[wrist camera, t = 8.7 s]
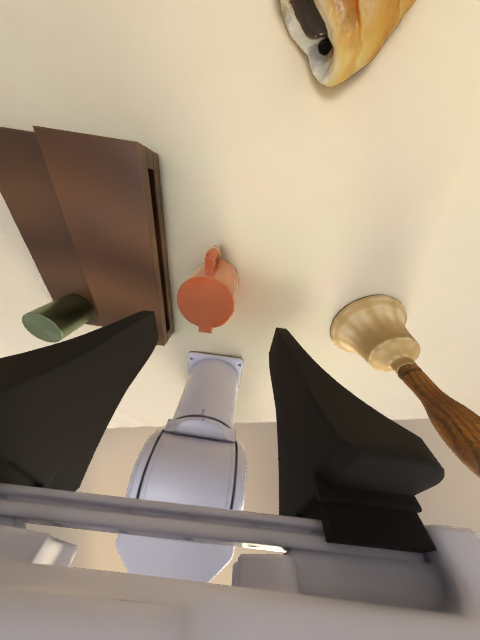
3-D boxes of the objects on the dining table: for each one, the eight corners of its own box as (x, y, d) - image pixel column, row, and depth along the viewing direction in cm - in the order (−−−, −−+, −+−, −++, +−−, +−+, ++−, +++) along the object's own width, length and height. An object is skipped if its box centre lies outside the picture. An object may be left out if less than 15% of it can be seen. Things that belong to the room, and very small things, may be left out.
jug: (235, 306, 21) (230, 337, 16) (196, 301, 21) (178, 329, 16) (243, 245, 18) (240, 259, 13) (195, 238, 18) (173, 250, 13)
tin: (98, 321, 23) (67, 344, 19) (70, 318, 22) (32, 340, 19) (89, 296, 21) (52, 315, 17) (58, 291, 21) (14, 310, 17)
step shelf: (173, 331, 24) (164, 346, 21) (69, 317, 24) (47, 330, 21) (158, 153, 14) (137, 141, 12) (-18, 126, 14) (-77, 108, 12)
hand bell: (354, 360, 25) (475, 540, 11) (316, 327, 22) (414, 508, 9) (417, 323, 21) (709, 524, 8) (381, 279, 19) (717, 462, 5)
